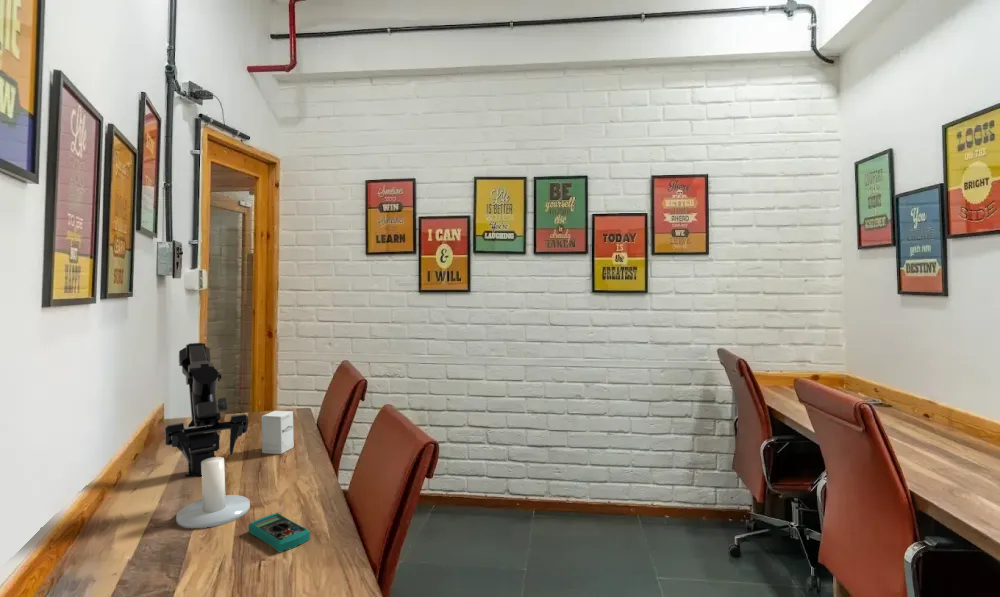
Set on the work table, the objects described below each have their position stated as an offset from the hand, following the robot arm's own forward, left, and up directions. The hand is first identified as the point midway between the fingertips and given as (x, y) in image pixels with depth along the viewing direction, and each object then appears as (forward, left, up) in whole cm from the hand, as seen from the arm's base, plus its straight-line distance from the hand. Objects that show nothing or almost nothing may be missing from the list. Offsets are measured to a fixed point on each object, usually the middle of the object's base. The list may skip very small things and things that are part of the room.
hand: (211, 458), depth 133 cm
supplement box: (-4, +45, -13) cm, 47 cm away
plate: (+2, -2, -13) cm, 13 cm away
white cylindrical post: (+2, -2, -12) cm, 12 cm away
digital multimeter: (+23, -13, -14) cm, 30 cm away
